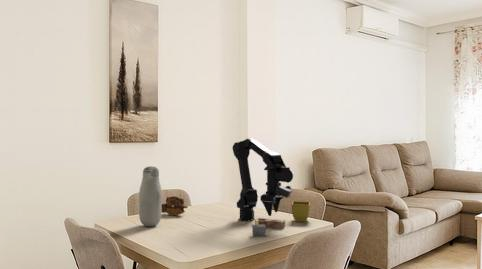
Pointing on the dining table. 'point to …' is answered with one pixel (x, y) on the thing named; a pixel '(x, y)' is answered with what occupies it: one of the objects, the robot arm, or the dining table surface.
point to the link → (272, 223)
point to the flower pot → (300, 210)
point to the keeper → (259, 230)
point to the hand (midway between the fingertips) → (273, 213)
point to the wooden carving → (174, 206)
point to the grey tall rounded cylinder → (150, 197)
